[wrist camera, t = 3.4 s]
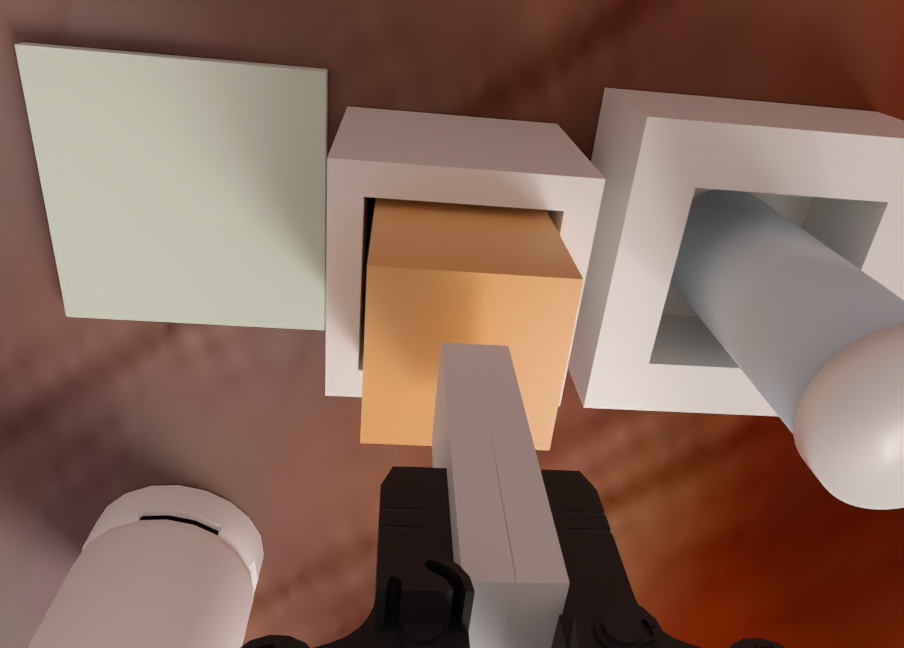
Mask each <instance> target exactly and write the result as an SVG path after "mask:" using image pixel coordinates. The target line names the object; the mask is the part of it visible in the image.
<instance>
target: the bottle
mask: <svg viewBox="0 0 904 648" xmlns="http://www.w3.org/2000/svg"><path fill="white" fill-rule="evenodd" d="M160 515H170V516H175V517H180V518H185V519H191V520H195V521H198V522H200V523H202V524H204V525H206V526H209V527H211V528H213V529H215V530H218V535H216V534H213V533H211V532H209V531H207V530H204V529H202V528H200V527H198V526H196V525H193V524H188V523H183V522H178V521H172V520H167V519H163V520H139V519H140V518H141V517H142V516H160ZM138 520H139V521H138ZM263 556H264V552H263V546H262V539H261V535H260V534H259V532H258V530H257V529H256V527H255V526H254V524H253V522H252V521H251V519H250V518H249V517H248V516H247V515H246V514H245V513H243V512H242V511H241V510H240V509H239V508H237V507H236V506H235V505H234V504H233V503H232V502H230V501H228V500H225V499H223V498H221V497H219V496H217V495H215V494H213V493H210V492H208V491H205V490H201V489H196V488H191V487H186V486H181V485H164V486H149V487H146V488H142V489H139V490H135V491H132V492H128V493H126V494H124V495H123V496H121V497H120V498H118V499H117V500H115V501H114V502H112V503H111V504H109V505H108V506H107V507H106V509H105V510H104V512H103V513H102V515H101V516H100V518H99V519H98V521H97V522H96V524H95V526H94V527H93V529H92V531H91V533H90V535H89V537H88V538H87V540H86V542H85V544H84V546H83V548H82V553H81V554H80V556H79V557H78V559H77V560H76V561H75V563H74V564H73V566H72V568H71V569H70V571H69V573H68V575H67V577H66V579H65V580H64V582H63V584H62V586H61V588H60V590H59V591H58V593H57V595H56V597H55V599H54V601H53V602H52V604H51V606H50V608H49V610H48V612H47V613H46V615H45V617H44V619H43V621H42V623H41V624H40V626H39V628H38V630H37V632H36V634H35V635H34V637H33V639H32V641H31V643H30V645H29V646H28V648H240V647H241V646H242V644H243V640H244V636H245V632H246V628H247V624H248V619H249V615H250V611H251V607H252V603H253V595H254V592H255V588H256V585H257V581H258V577H259V573H260V569H261V565H262V561H263Z"/></svg>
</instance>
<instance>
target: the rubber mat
mask: <svg viewBox="0 0 904 648" xmlns="http://www.w3.org/2000/svg"><path fill="white" fill-rule="evenodd" d="M14 45H15V50H16V55H17V60H18V66H19V71H20V76H21V81H22V87H23V92H24V97H25V102H26V108H27V113H28V118H29V123H30V129H31V134H32V139H33V144H34V150H35V155H36V160H37V165H38V171H39V176H40V181H41V186H42V192H43V197H44V202H45V207H46V213H47V218H48V223H49V228H50V234H51V239H52V244H53V249H54V255H55V260H56V265H57V270H58V276H59V281H60V286H61V291H62V297H63V302H64V307H65V312H66V317H81V318H99V319H118V320H137V321H156V322H175V323H194V324H212V325H231V326H250V327H269V328H288V329H307V330H324V329H325V325H326V226H327V96H328V69H322V68H311V67H300V66H288V65H277V64H265V63H254V62H243V61H231V60H220V59H209V58H197V57H186V56H175V55H163V54H152V53H141V52H129V51H118V50H106V49H95V48H84V47H72V46H61V45H50V44H38V43H27V42H22V43H18V44H14Z"/></svg>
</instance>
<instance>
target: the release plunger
mask: <svg viewBox="0 0 904 648" xmlns="http://www.w3.org/2000/svg"><path fill="white" fill-rule="evenodd" d="M582 284H583V277H582V276H581V274H580V272H579V270H578V268H577V266H576V264H575V263H574V261H573V259H572V257H571V255H570V253H569V251H568V250H567V248H566V246H565V244H564V242H563V240H562V238H561V237H560V235H559V233H558V231H557V229H556V227H555V225H554V224H553V222H552V220H551V218H550V216H549V214H548V212H547V211H546V210H541V209H527V208H513V207H499V206H485V205H471V204H457V203H443V202H429V201H415V200H401V199H387V198H376V200H375V207H374V215H373V223H372V231H371V238H370V246H369V254H368V261H367V277H366V303H365V330H364V356H363V383H362V410H361V436H360V443H370V444H396V445H422V446H432V432H433V421H434V411H435V401H436V391H437V381H438V370H439V360H440V350H441V342H442V343H461V344H481V345H500V346H508V347H509V351H510V354H511V358H512V362H513V366H514V370H515V374H516V378H517V381H518V385H519V389H520V393H521V397H522V401H523V405H524V409H525V412H526V416H527V420H528V424H529V428H530V432H531V436H532V439H533V443H534V447H535V450H550V445H551V440H552V435H553V430H554V425H555V420H556V415H557V410H558V405H559V400H560V395H561V390H562V385H563V380H564V375H565V370H566V365H567V360H568V355H569V350H570V345H571V340H572V335H573V330H574V325H575V320H576V315H577V310H578V305H579V300H580V295H581V290H582Z"/></svg>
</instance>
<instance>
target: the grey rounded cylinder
mask: <svg viewBox="0 0 904 648" xmlns="http://www.w3.org/2000/svg"><path fill="white" fill-rule="evenodd" d="M671 282H672V284H673V285H674V286H675V287H676V289H677V290H678V291H679V292H680V294H681V295H682V296H683V297H684V299H685V300H686V301H687V302H688V304H689V305H690V306H691V307H692V309H693V310H694V311H695V312H696V314H697V315H698V316H699V317H700V319H701V320H702V321H703V322H704V324H705V325H706V326H707V327H708V329H709V330H710V331H711V332H712V334H713V335H714V336H715V337H716V339H717V340H718V341H719V342H720V344H721V345H722V346H723V347H724V349H725V350H726V351H727V352H728V354H729V355H730V356H731V357H732V359H733V360H734V361H735V362H736V364H737V365H738V366H739V367H740V369H741V370H742V371H743V372H744V374H745V375H746V376H747V377H748V379H749V380H750V381H751V382H752V384H753V385H754V386H755V387H756V389H757V390H758V391H759V392H760V394H761V395H762V396H763V397H764V399H765V400H766V401H767V402H768V404H769V405H770V406H771V407H772V409H773V410H774V411H775V412H776V414H777V415H778V416H779V417H780V419H781V420H782V421H783V422H784V424H785V425H786V426H787V427H788V429H789V430H790V431H791V432H792V434H793V435H794V441H795V445H796V448H797V450H798V452H799V454H800V456H801V457H802V459H803V460H804V462H805V463H806V464H807V465H808V467H809V468H810V469H811V471H812V472H813V473H814V474H815V476H816V477H817V478H818V480H819V481H820V482H821V483H822V485H823V486H824V487H825V488H826V489H827V490H828V491H829V493H831V494H832V495H833V496H835V497H836V498H837V499H839V500H841V501H843V502H845V503H847V504H850V505H853V506H856V507H861V508H865V509H876V510H887V509H898V508H904V300H903V299H901V298H900V297H899V296H897V295H896V294H894V293H893V292H892V291H890V290H889V289H887V288H886V287H884V286H883V285H882V284H880V283H879V282H877V281H876V280H874V279H873V278H872V277H870V276H869V275H867V274H866V273H864V272H863V271H862V270H860V269H859V268H857V267H856V266H854V265H853V264H852V263H850V262H849V261H847V260H846V259H844V258H843V257H842V256H840V255H839V254H837V253H836V252H834V251H833V250H832V249H830V248H829V247H827V246H826V245H824V244H823V243H822V242H820V241H819V240H817V239H816V238H814V237H813V236H812V235H810V234H809V233H807V232H806V231H804V230H803V229H802V228H800V227H799V226H797V225H796V224H794V223H793V222H792V221H790V220H789V219H787V218H786V217H784V216H783V215H782V214H780V213H779V212H777V211H776V210H774V209H773V208H772V207H770V206H769V205H767V204H766V203H764V202H763V201H762V200H760V199H759V198H757V197H756V196H754V195H753V194H751V193H749V192H745V191H732V190H719V189H714V190H710V191H707V192H704V193H701V194H699V195H697V196H695V197H694V198H693V199H692V202H691V206H690V210H689V214H688V218H687V221H686V225H685V229H684V233H683V237H682V240H681V244H680V248H679V252H678V255H677V259H676V263H675V267H674V271H673V274H672V278H671Z"/></svg>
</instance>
